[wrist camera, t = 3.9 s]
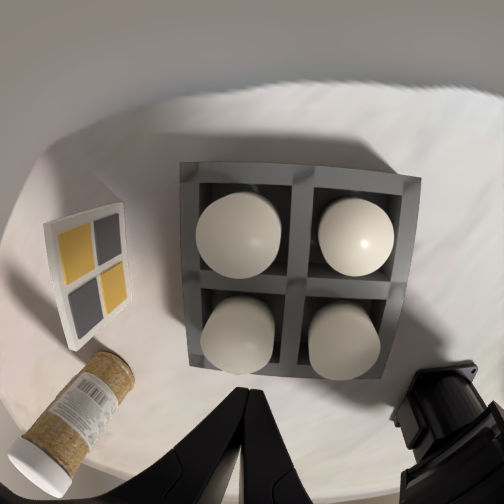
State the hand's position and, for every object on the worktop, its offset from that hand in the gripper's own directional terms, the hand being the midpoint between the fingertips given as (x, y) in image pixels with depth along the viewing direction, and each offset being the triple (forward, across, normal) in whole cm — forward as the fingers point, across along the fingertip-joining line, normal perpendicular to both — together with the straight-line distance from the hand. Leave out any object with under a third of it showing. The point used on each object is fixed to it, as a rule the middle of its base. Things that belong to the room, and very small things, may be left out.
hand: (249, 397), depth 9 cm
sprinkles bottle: (+10, +13, +10) cm, 19 cm away
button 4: (+8, +1, -4) cm, 8 cm away
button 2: (+9, -4, -4) cm, 10 cm away
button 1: (+8, -4, +1) cm, 9 cm away
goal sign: (+10, +10, -1) cm, 14 cm away
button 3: (+7, +1, +2) cm, 8 cm away
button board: (+10, -1, -1) cm, 10 cm away
